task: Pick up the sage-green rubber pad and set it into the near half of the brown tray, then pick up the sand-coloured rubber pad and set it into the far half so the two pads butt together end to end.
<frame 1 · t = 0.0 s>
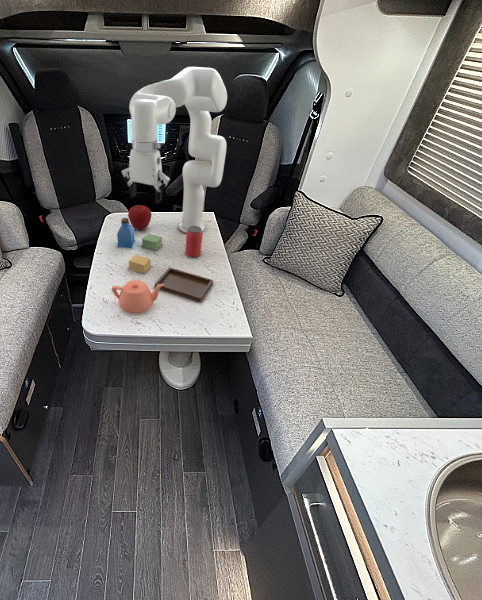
hand: (145, 199, 115), 31 cm above the table, tool pointing down, fingers open, 9 cm apart
brown tray: (183, 286, 130), on the table
teapot: (138, 304, 121), on the table
beer can: (192, 254, 148), on the table
apple: (140, 228, 166), on the table
perfume bottle: (126, 244, 154), on the table
sand pad: (139, 267, 139), on the table
green pad: (152, 245, 153), on the table
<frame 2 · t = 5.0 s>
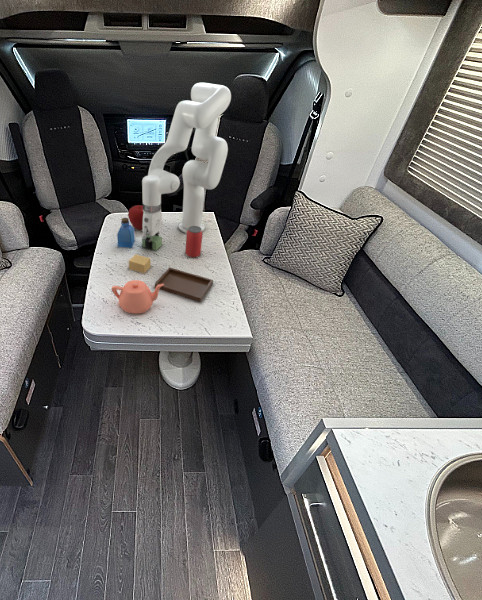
hand: (152, 244, 153), 1 cm above the table, tool pointing down, fingers closed on green pad, 5 cm apart
green pad: (152, 245, 153), on the table, touching gripper
everything else where it was.
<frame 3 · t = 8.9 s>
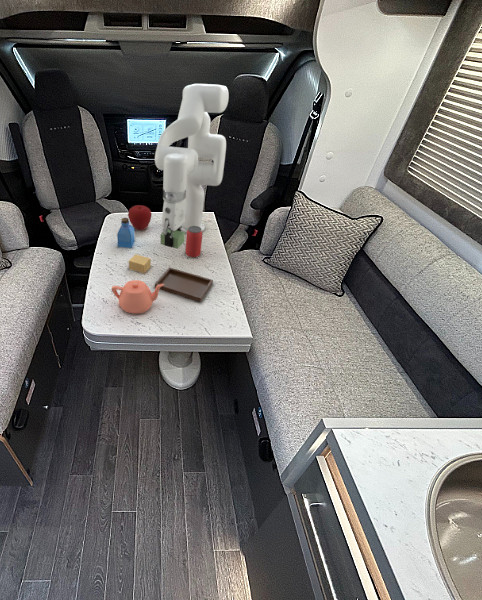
hand: (172, 241, 124), 16 cm above the table, tool pointing down, fingers closed on green pad, 5 cm apart
green pad: (172, 243, 125), point 15 cm above the table, touching gripper
everything else where it was.
when the fingers open (1 cm above the table, at t = 13.1 s): green pad stays where it is, resting on brown tray.
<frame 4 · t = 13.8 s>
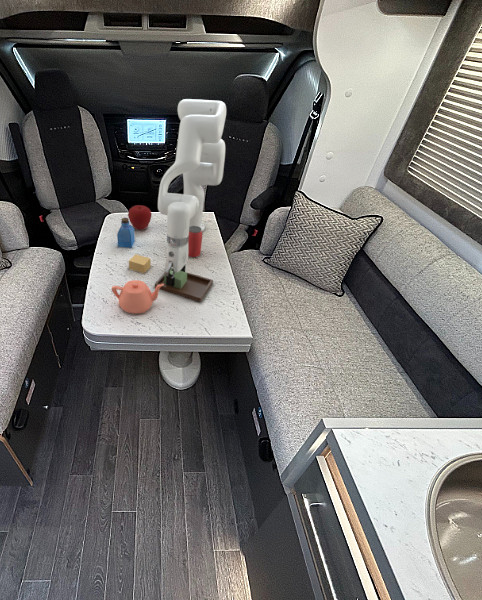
hand: (175, 278, 129), 2 cm above the table, tool pointing down, fingers open, 9 cm apart
green pad: (175, 282, 130), resting on brown tray
everything else where it was.
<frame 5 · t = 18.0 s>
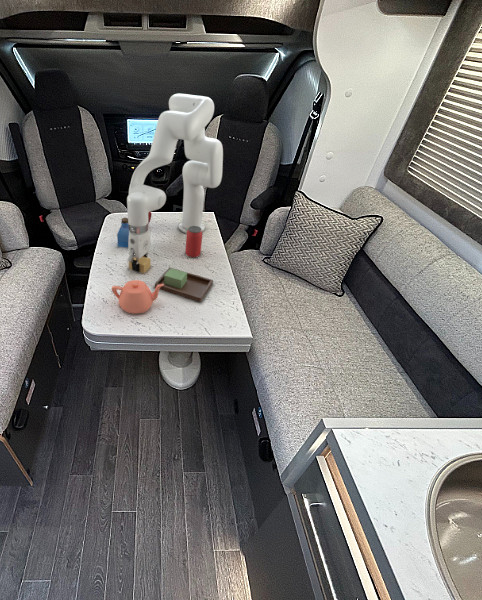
hand: (139, 266, 139), 1 cm above the table, tool pointing down, fingers closed on sand pad, 5 cm apart
sand pad: (139, 267, 139), on the table, touching gripper
everything else where it was.
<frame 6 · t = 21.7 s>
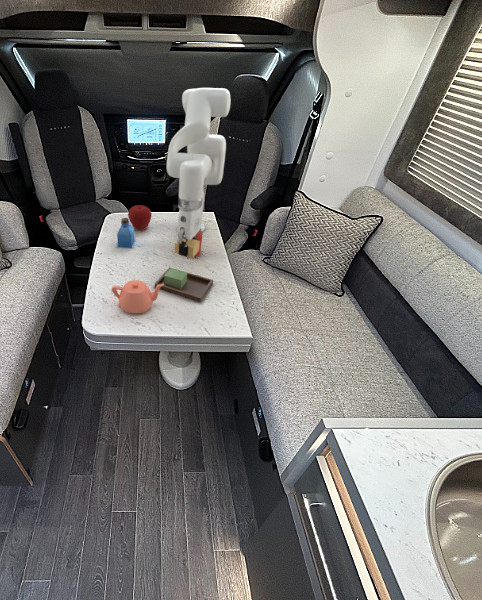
hand: (186, 250, 120), 15 cm above the table, tool pointing down, fingers closed on sand pad, 5 cm apart
sand pad: (186, 251, 120), point 15 cm above the table, touching gripper
everything else where it was.
when the fingers open (1 cm above the table, at t = 25.6 s): sand pad stays where it is, resting on brown tray.
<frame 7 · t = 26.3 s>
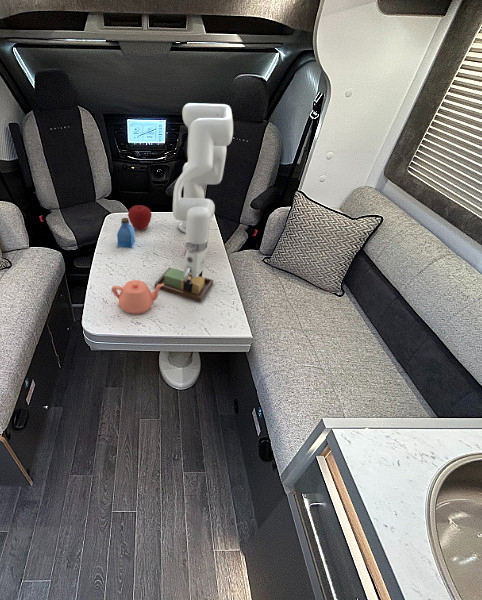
hand: (192, 283, 127), 2 cm above the table, tool pointing down, fingers open, 9 cm apart
sand pad: (192, 287, 128), resting on brown tray
everything else where it was.
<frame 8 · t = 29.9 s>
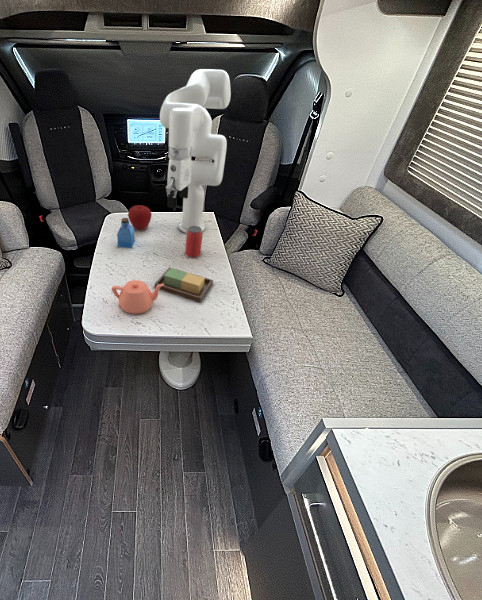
hand: (177, 202, 121), 28 cm above the table, tool pointing down, fingers open, 9 cm apart
nothing on the table moved.
at the end: green pad inside the target area in the brown tray (3.5 cm from its centre), point 0.5 cm above the brown tray's base; sand pad inside the target area in the brown tray (3.5 cm from its centre), point 0.5 cm above the brown tray's base; sand pad 7.1 cm from the green pad (horizontally) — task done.
